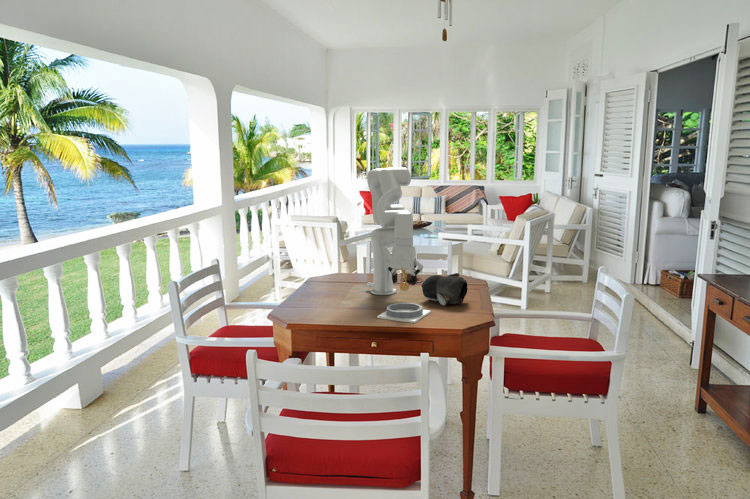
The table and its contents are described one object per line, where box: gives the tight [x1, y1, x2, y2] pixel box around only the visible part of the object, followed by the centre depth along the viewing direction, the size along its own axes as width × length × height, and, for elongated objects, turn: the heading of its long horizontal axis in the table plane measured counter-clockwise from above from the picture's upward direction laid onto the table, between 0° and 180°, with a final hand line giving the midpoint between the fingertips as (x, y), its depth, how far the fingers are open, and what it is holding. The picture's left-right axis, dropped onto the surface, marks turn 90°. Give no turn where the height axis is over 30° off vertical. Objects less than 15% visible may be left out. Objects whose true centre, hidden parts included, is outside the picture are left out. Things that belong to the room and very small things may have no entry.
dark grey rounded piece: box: [421, 272, 468, 306], centre depth 259 cm, size 20×21×13 cm
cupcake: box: [399, 267, 424, 283], centre depth 303 cm, size 12×10×10 cm
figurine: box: [394, 268, 410, 292], centre depth 238 cm, size 8×6×12 cm
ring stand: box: [376, 302, 432, 324], centre depth 240 cm, size 17×17×3 cm
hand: (404, 283), depth 238 cm, fingers closed on figurine, 8 cm apart
